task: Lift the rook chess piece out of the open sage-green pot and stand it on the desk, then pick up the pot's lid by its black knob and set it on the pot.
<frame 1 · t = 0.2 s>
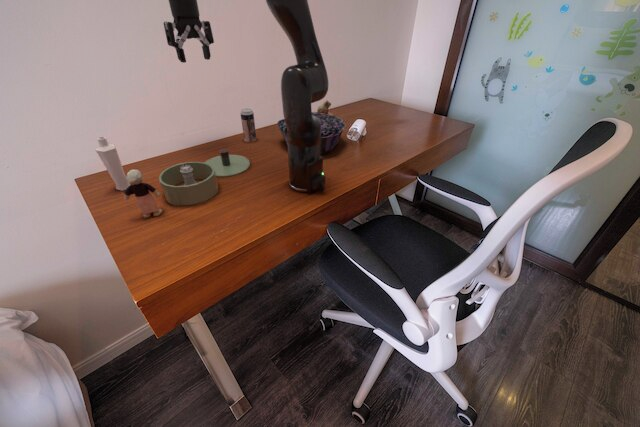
hand: (195, 60, 89), 29 cm above the table, tool pointing down, fingers open, 8 cm apart
pot lid: (226, 165, 93), point 1 cm above the table
decorative bowl: (311, 143, 112), on the table
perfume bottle: (124, 187, 83), on the table
grandmother figurine: (150, 214, 73), on the table
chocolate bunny: (326, 121, 133), on the table
rook chess piece: (192, 192, 81), resting on pot
pot: (192, 192, 81), on the table
beer can: (250, 141, 112), on the table
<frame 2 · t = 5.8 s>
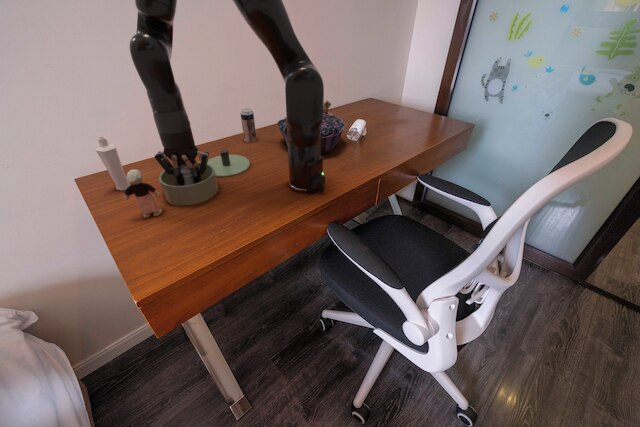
hand: (191, 185, 80), 2 cm above the table, tool pointing down, fingers closed on rook chess piece, 3 cm apart
rook chess piece: (192, 192, 81), resting on pot, touching gripper
everything else where it was.
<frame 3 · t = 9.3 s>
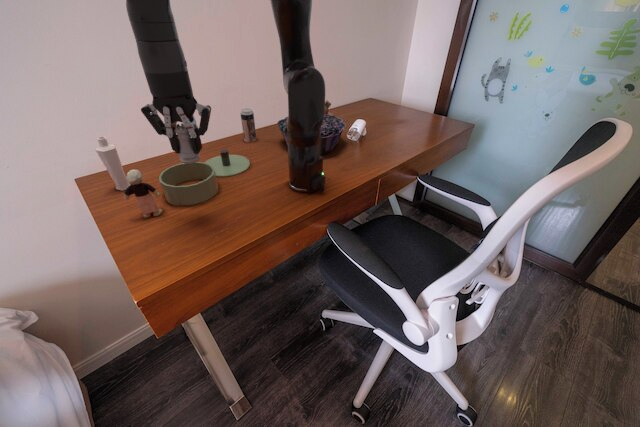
hand: (188, 151, 63), 17 cm above the table, tool pointing down, fingers closed on rook chess piece, 3 cm apart
rook chess piece: (190, 160, 65), point 15 cm above the table, touching gripper
everything else where it was.
when the fingers open (2 cm above the table, at t = 13.0 s): rook chess piece stays where it is, on the table.
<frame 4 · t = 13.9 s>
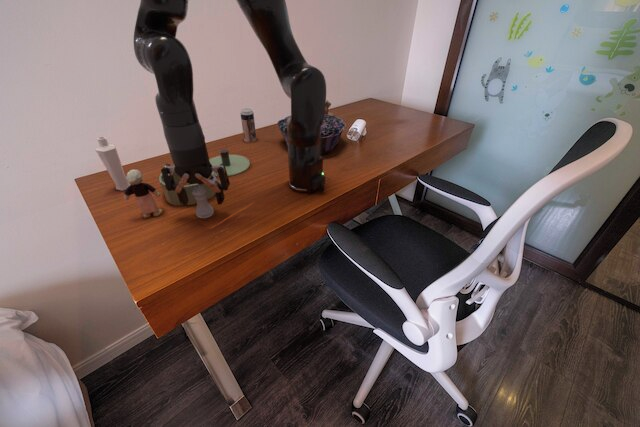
hand: (203, 203, 71), 4 cm above the table, tool pointing down, fingers open, 8 cm apart
rook chess piece: (205, 215, 73), on the table
everything else where it was.
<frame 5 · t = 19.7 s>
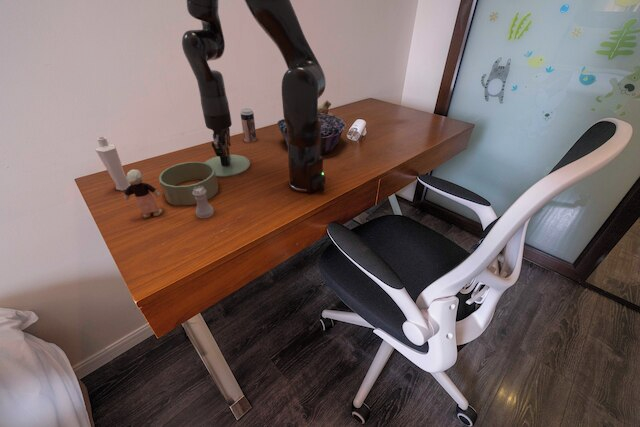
hand: (226, 163, 93), 2 cm above the table, tool pointing down, fingers closed on pot lid, 2 cm apart
pot lid: (226, 165, 93), point 1 cm above the table, touching gripper
everything else where it was.
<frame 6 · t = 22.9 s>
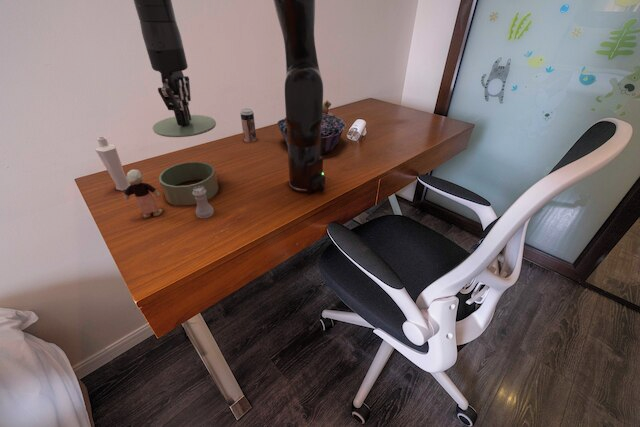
hand: (184, 122, 73), 19 cm above the table, tool pointing down, fingers closed on pot lid, 2 cm apart
pot lid: (185, 126, 73), point 18 cm above the table, touching gripper
everything else where it was.
when the fingers open (7 cm above the table, at t = 26.2 s): pot lid stays where it is, resting on pot.
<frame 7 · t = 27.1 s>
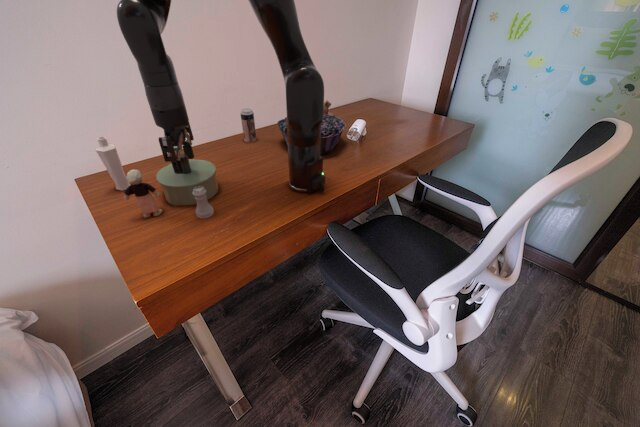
hand: (185, 165, 76), 9 cm above the table, tool pointing down, fingers open, 8 cm apart
pot lid: (187, 173, 77), point 6 cm above the table, touching pot
everything else where it was.
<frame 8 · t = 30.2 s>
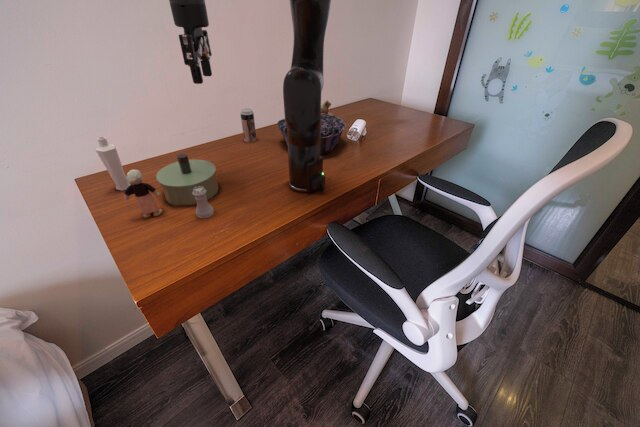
hand: (203, 79, 73), 28 cm above the table, tool pointing down, fingers open, 8 cm apart
nothing on the table moved.
at the end: rook chess piece inside the target area (0.1 cm from its centre), on the table; pot lid 0.1 cm off-centre on the pot, point 6.2 cm above the pot's base; pot lid tilted 0° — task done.
